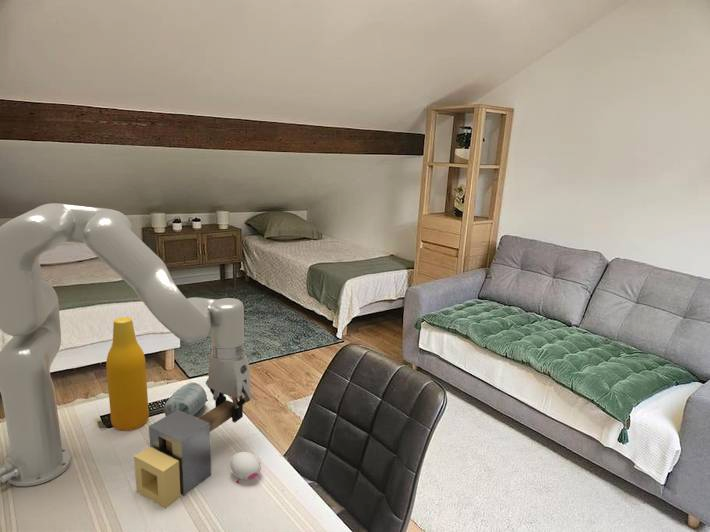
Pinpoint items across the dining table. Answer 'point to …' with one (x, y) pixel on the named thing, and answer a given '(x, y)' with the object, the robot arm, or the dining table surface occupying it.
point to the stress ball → (245, 465)
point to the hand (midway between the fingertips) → (229, 415)
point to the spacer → (157, 476)
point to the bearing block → (184, 446)
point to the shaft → (213, 418)
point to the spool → (186, 399)
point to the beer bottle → (126, 378)
